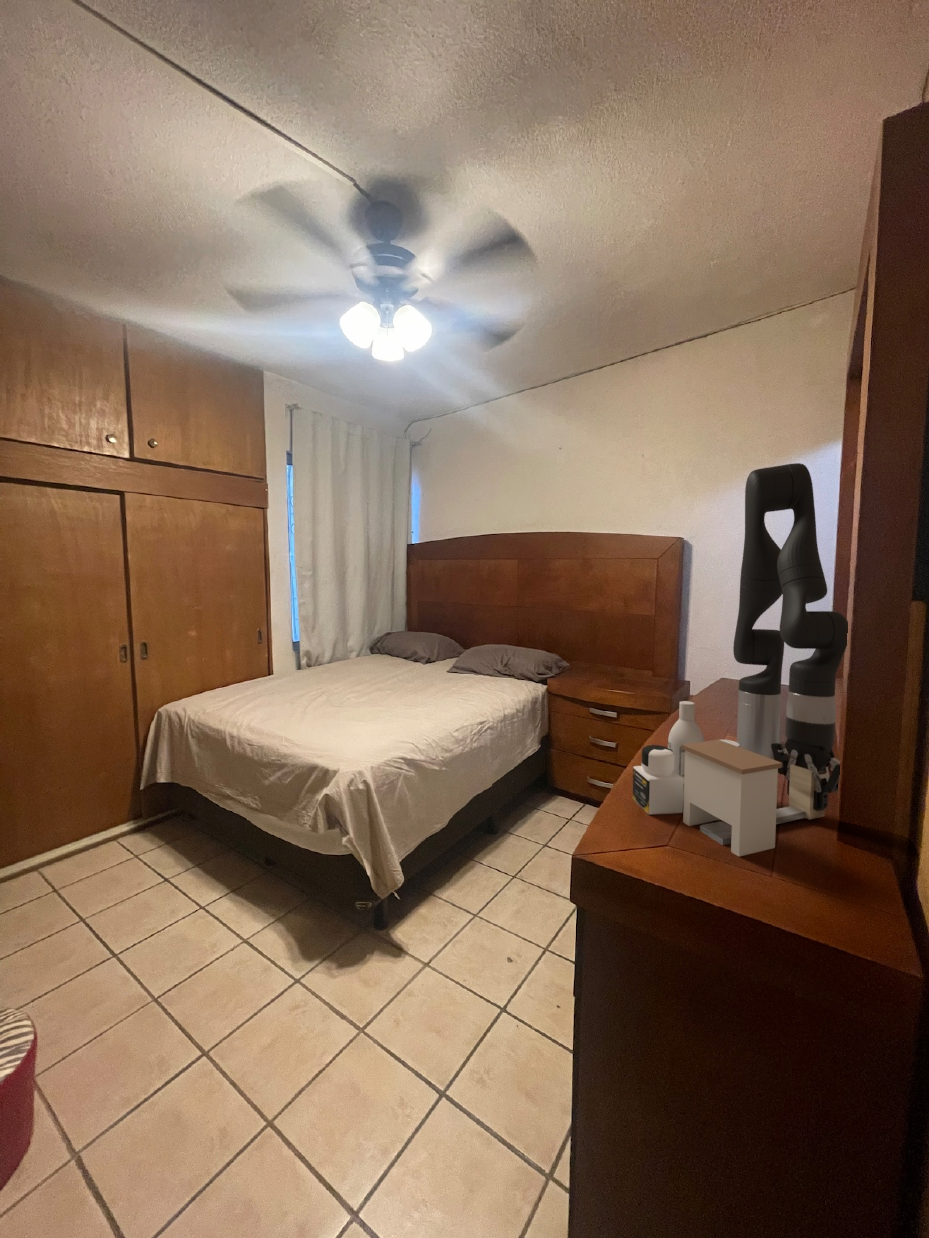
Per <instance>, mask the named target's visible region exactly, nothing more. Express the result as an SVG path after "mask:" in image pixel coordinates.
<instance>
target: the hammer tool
mask: <svg viewBox="0 0 929 1238" xmlns="http://www.w3.org/2000/svg"><path fill="white" fill-rule="evenodd" d="M823 771H824V770H822V771H818V772H817V773H818V774H821V773H823ZM812 773H813V772H810V771H809V770H808V769H806V768H803V767H800V766H798V765H796V766H794V765H790V783H789V796H788V806H785V807H780V808H776V825H780V824H784V823H787V822H788V823H789V822H792V821H796V820H803V819H807V820H814V819H818V818H822V817H825V811H826V808H825V809H824V810H822V811H816V810H814V809H813V802H814V791H816V790H815V788H814V779H813V778H812Z"/></svg>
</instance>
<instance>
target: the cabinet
mask: <svg viewBox="0 0 929 1238" xmlns="http://www.w3.org/2000/svg"><path fill="white" fill-rule="evenodd" d="M721 740H722V739H713V740H712V739H711V740H704V742H697V743H690V744H683V745H682V749H683V750H685V769H684V801H683V812H682V814H683V815H682V817H683V818H682V822H683V823H684V824H685V825H687V826H689V827H692V826H696V825H703V824H707V823H712V822H714V821H716V822H717V821H720V820H721V821H723V822H724V823H726V824H728V825H730V826H731V827H732V836H731V844H730V852H731V854H734V855H735V856H737V857H742V856H749V855H751V854H756V853H760V852H764V851H768V850H772V849H775V847H776V828H777V827H776V826H777V824H776V809H777V803H778V802H777V801H778V779H779V778H778V777H779V773H778V768H782V763H783V762H782V763H781V762H778V761H776V760H773V759H770V758H767V757H765V756H762V755H759V754H756V753H754V752H751V751H748V750H746V749H743V748H740V747H737V746H735V745H732V744H729V743H726V742H724V741H721Z"/></svg>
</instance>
